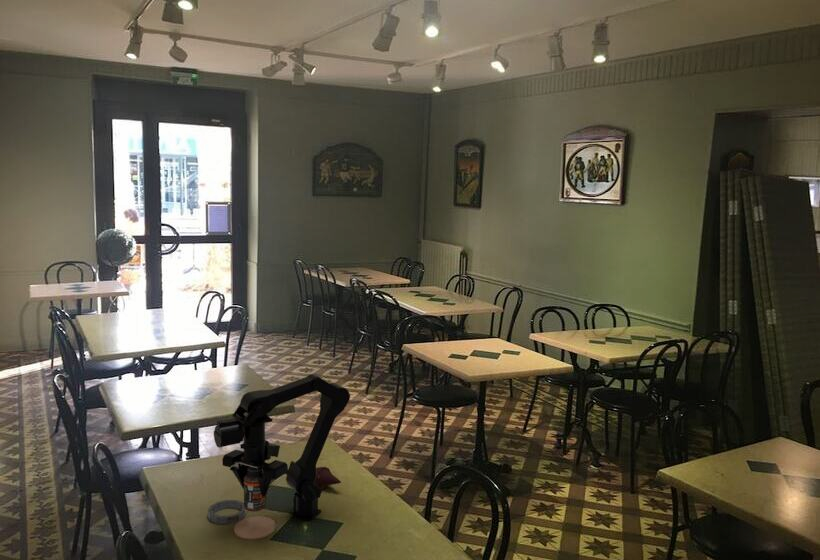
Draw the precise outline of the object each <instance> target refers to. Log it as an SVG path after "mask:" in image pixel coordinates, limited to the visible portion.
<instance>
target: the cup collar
mask: <svg viewBox="0 0 820 560" xmlns="http://www.w3.org/2000/svg"><path fill="white" fill-rule="evenodd" d="M207 509H208V510H207V518H208V520H209V521H210V522H211V523H213V524H217V525H230V524H234V523H238V522H239V521H241V520H243V519H245V518H246V515H247V512H248V510H246V509H245V508H244V501H240V500H238V499H237V500H236V499H225V500H221V501H217V502H215V503H213V504H212V505H210V506H209V507H208V508H207ZM224 509H236V510H239V511H238V512H236V513H234V514H230V515H219V514H216V512H218V511H220V510H224ZM214 512H215V513H214Z"/></svg>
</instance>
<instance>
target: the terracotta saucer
mask: <svg viewBox="0 0 820 560" xmlns="http://www.w3.org/2000/svg"><path fill="white" fill-rule="evenodd" d="M233 530H234V534H235V536H237V537H238V538H240V539H244V540H260V539H263V538H265V537H266V538H267V537H268V536H270V535H272V533H274V532H275V530H276V523H275V520H273V519H272V518H270V517H267V516H259V515H257V516H251V517H245V518H243V519H241V520H240V521H237V522H236V524H235V525H234V528H233Z"/></svg>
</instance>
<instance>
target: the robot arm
mask: <svg viewBox="0 0 820 560" xmlns="http://www.w3.org/2000/svg"><path fill="white" fill-rule="evenodd" d="M313 392H318V393H320V394H321V396H320V398H319V413H318V416H317V418H316V420H315V422H314V424H313V427H312V430H311V432H310V435H309V437H308V440H307V441H306V444H305V446H304V449H303V451H302V453H301V456H300V458H299V459H298V460H296V461H293V460H292V461H290V463H289V466H288V464H287V463H286V462H285V461H281V460H277V459H274V460H273V461H272V462H266V461H269V460H271V457H275V458H278V457H279V453H280V448H281V445H280V444H279V445H278V444H275V443H271V442H269V440H266V423H267V424H268V423H272V422H273V420H274V419H273V418H271V417H270V416H269V415H268V414H269V413H271V412H273V410H275V408H276V407H277V406H279V405H281V404H284V403H287V402H290V401H292V400H295V399H297V398H300V397H303V396H305V395H309V394H311V393H313ZM350 399H351V394H350V392H349V390H348V389H347V388H345V387H344V386H341V385H340V384H338V383H336V382H327V380H324V379H323V378H322V377H320V376H318V375H316V374H314V373H312V374H308V375H307V376H305V377H302V378H299V379H297V380H294V381H291V382H289V383H285V384H284V385H280V386H277V387H275V388H272V389H259V390H252V391H249V392H246V393H244V394H243V395H242V397H241V399H240V402H239V405H238V406H237V408H236V409H235V411H234V412H233V414H232V418H229V419H225V420H223V419H222V420H217V421H216V426H215V427H214V431H213V440H214V442H215V445H216V447H217V448H219V449H220V448H224V447H229V446H232V445H238V444H240V449H243V450H239V449H233V450H232V451H229V452H227V453H225V454H224V455H223V456H222V460H221V461H222V466H223V467H226V468H227V467H228V468H229V470H230V471H232V473H233V475H234V476H235V478H236V479H237V481H238V483H239V484H240V485H241V488H242V489H243V490H244V478H245V476H246V475H247V474H248V473H247V472H248V468H249V467H254V468H258V469H262V471H263V472H262V473H263V474H262V475H260V476H258V480H259V485H260V490H261V494H262V497H264V496H266V497H267V493H268V490H269V487H270V486H271V483H272V481H273V480H277V479H279V478H280V477H282V476H284V475H286V477H285V481H286V483H287V486H288V487H290V488H291V489H292V492H293V491H294V494H293V495H294V496H293V498H292V499H293V500H292V501H293V503H292V505H293V506H292V508H293V511H292V512H291V513H290V516H291V517H294V518H298V519H301V520H305V521H311V520H312V519H313V518H315V517H317V515H319V514H321V513H322V509H319V498H320V497H321V494H322V492H323V489H320V488H318V487H317V486H316V485H315V484H314V483H315V479H316V468H317V463H318V460H319V459H320V456H321V454H322V451H323V449H324V446H325V444H326V441H327V440H328V436H329V434H330V432H331V430H332V428H333V425H334V422H335V420H336V418H337V417H338V416H339V415H340V414H341V413H343V411H344V410H345V408H346V407H347V405H348V403H349V402H350ZM244 414H247V415H244ZM241 442H243V443H241Z"/></svg>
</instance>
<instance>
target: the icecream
mask: <svg viewBox="0 0 820 560" xmlns="http://www.w3.org/2000/svg"><path fill="white" fill-rule="evenodd" d="M341 483H342V482H341V480H340V479H338V477H336V476H335V475H334V474H333V473H332V472H331V471H330V468H329V467H326V466H319V467H318V466H317V467H316V479H315V483H314V484H315V485H316V486H317V487H318V488H320V489H321V490H323V489H325V488H327V487H328V486H331V485H337V484H341Z"/></svg>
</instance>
